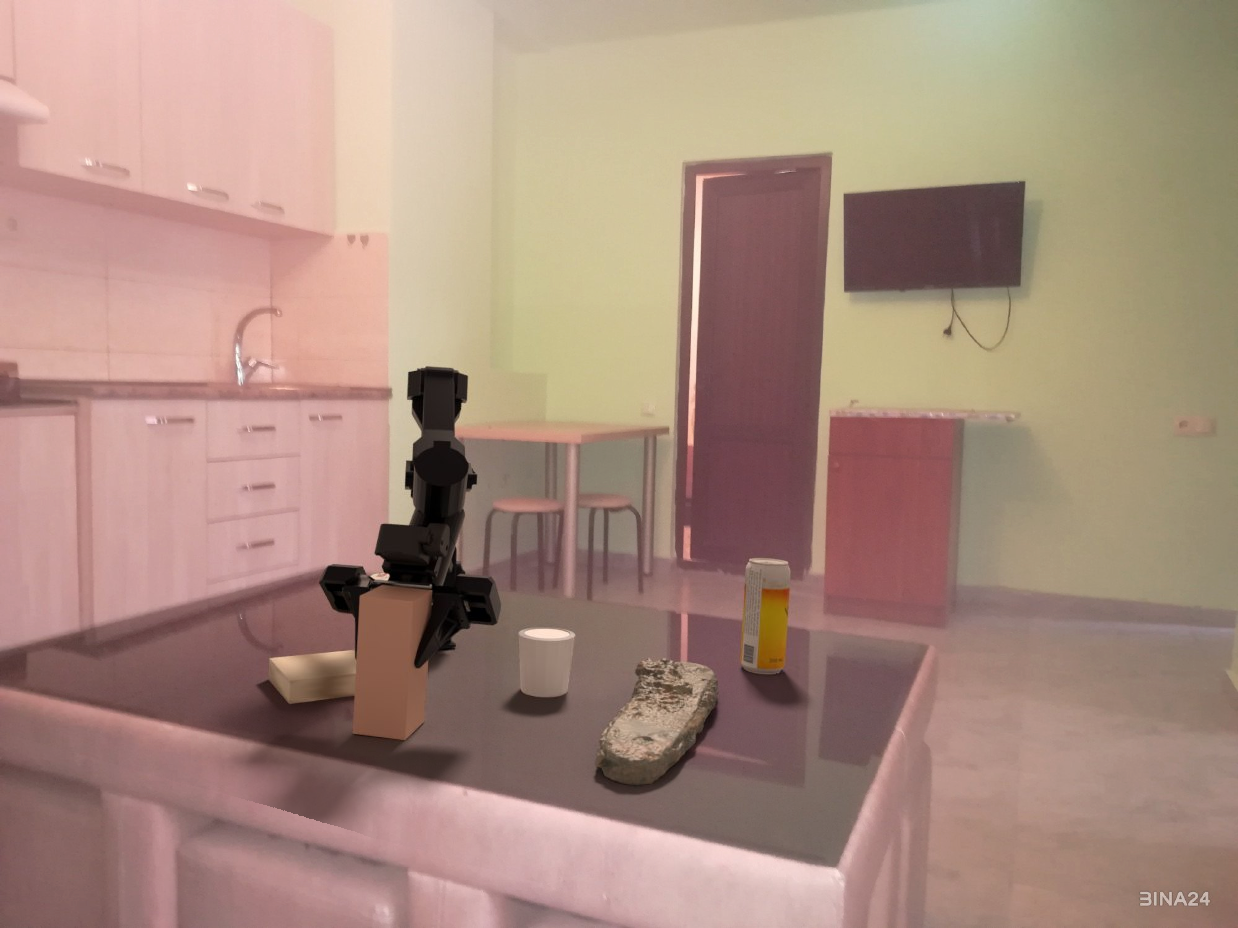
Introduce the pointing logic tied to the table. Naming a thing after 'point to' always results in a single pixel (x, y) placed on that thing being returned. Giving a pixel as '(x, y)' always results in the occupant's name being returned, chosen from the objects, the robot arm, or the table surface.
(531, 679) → the white cup
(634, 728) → the elongated rock
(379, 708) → the terracotta post
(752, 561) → the beer can
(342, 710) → the table surface
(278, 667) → the birch block
